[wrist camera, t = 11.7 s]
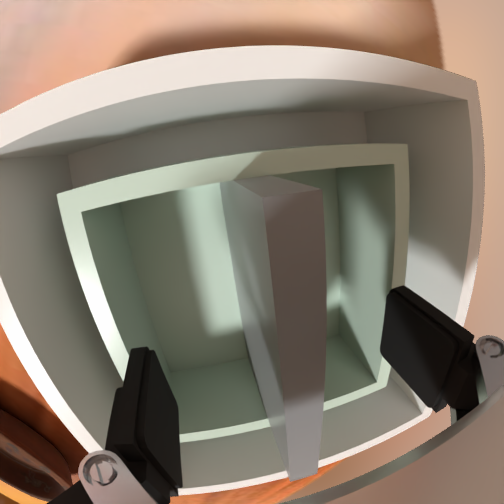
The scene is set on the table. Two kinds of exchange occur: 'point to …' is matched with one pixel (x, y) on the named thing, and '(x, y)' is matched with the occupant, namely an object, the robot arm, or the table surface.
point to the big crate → (216, 144)
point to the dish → (31, 461)
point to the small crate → (250, 281)
